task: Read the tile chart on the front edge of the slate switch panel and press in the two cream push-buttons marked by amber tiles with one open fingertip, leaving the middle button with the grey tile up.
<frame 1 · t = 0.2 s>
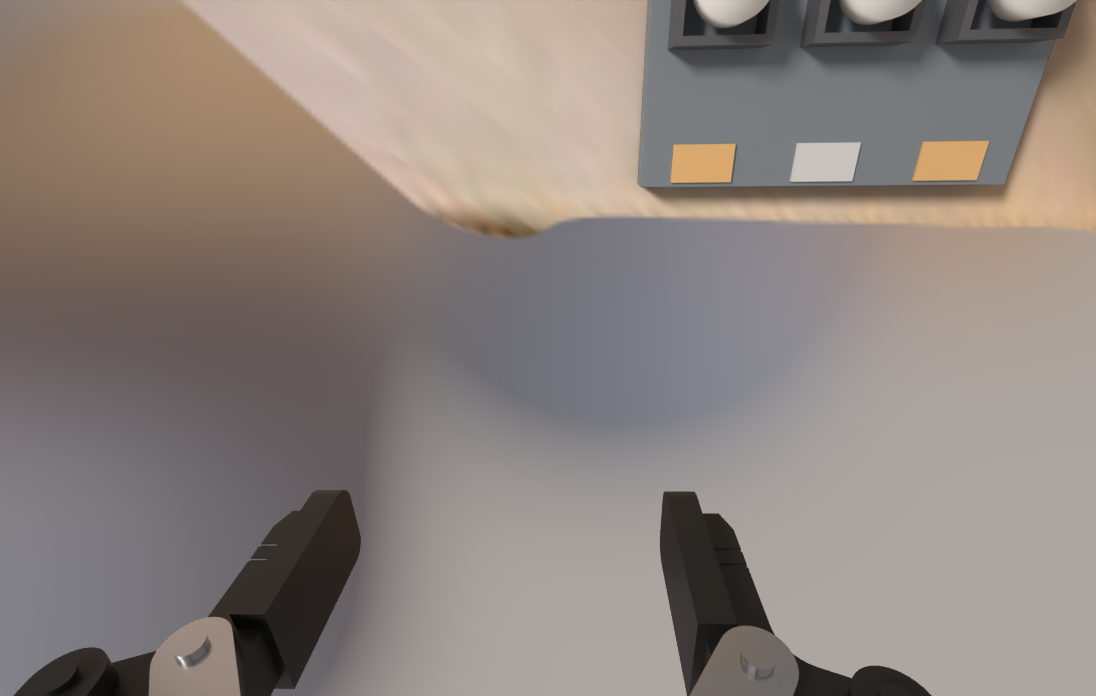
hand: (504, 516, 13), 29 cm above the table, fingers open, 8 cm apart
switch panel: (831, 52, 33), on the table
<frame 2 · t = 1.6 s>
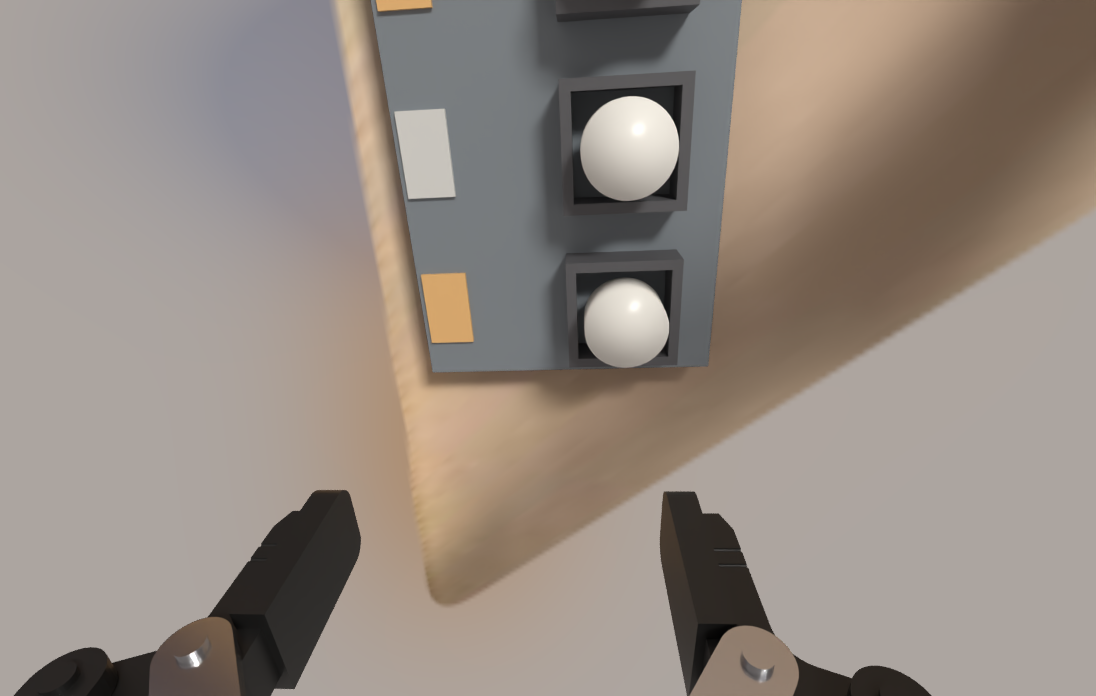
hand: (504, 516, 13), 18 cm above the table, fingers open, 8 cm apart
button c: (624, 322, 25), point 5 cm above the table, slide at 0.0 cm
button b: (627, 149, 22), point 5 cm above the table, slide at 0.0 cm
switch panel: (560, 145, 26), on the table
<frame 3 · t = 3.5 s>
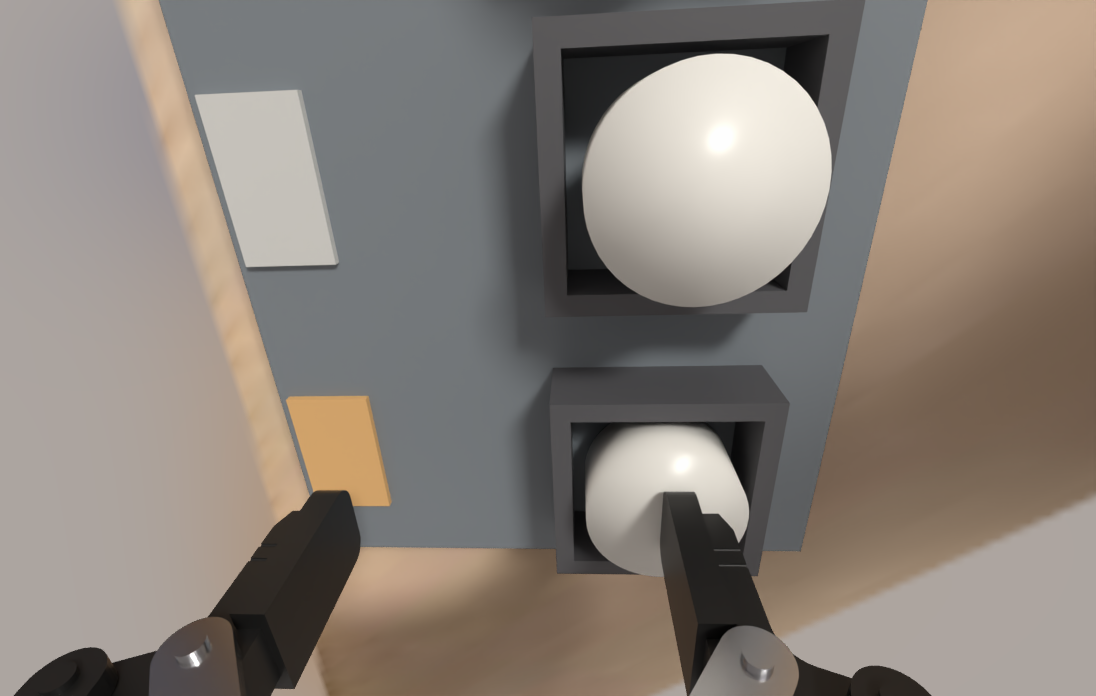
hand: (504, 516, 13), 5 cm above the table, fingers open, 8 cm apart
button c: (660, 492, 14), point 4 cm above the table, slide at 1.0 cm, touching gripper
button b: (691, 185, 9), point 5 cm above the table, slide at 0.0 cm
switch panel: (543, 165, 14), on the table
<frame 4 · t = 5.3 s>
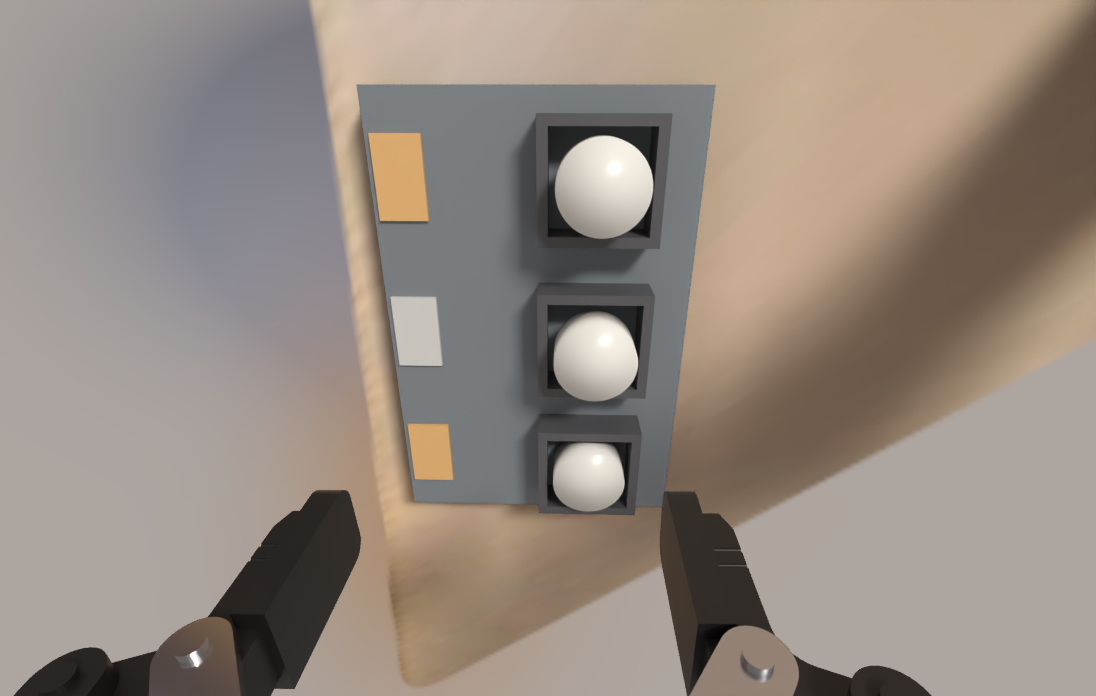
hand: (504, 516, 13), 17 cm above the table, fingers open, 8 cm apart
button a: (602, 186, 22), point 5 cm above the table, slide at 0.0 cm
button c: (587, 472, 29), point 4 cm above the table, slide at 1.1 cm
button b: (594, 355, 25), point 5 cm above the table, slide at 0.0 cm
switch panel: (538, 319, 29), on the table
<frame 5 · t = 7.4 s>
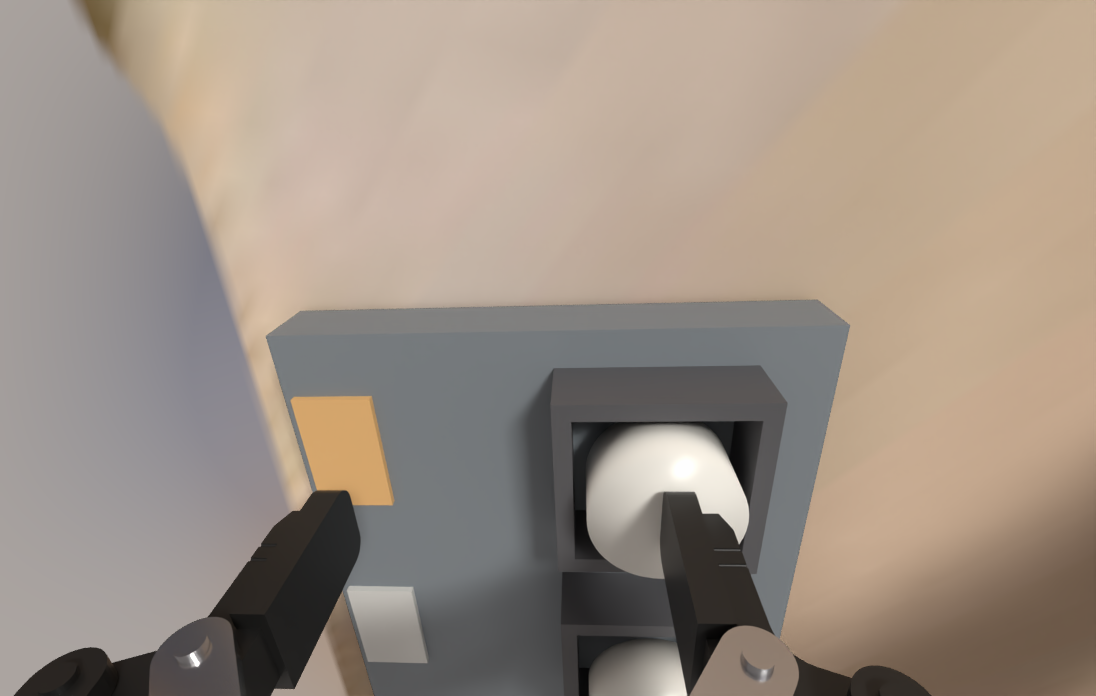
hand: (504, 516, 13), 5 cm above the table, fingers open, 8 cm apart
button a: (660, 494, 14), point 4 cm above the table, slide at 0.9 cm, touching gripper
switch panel: (562, 581, 21), on the table
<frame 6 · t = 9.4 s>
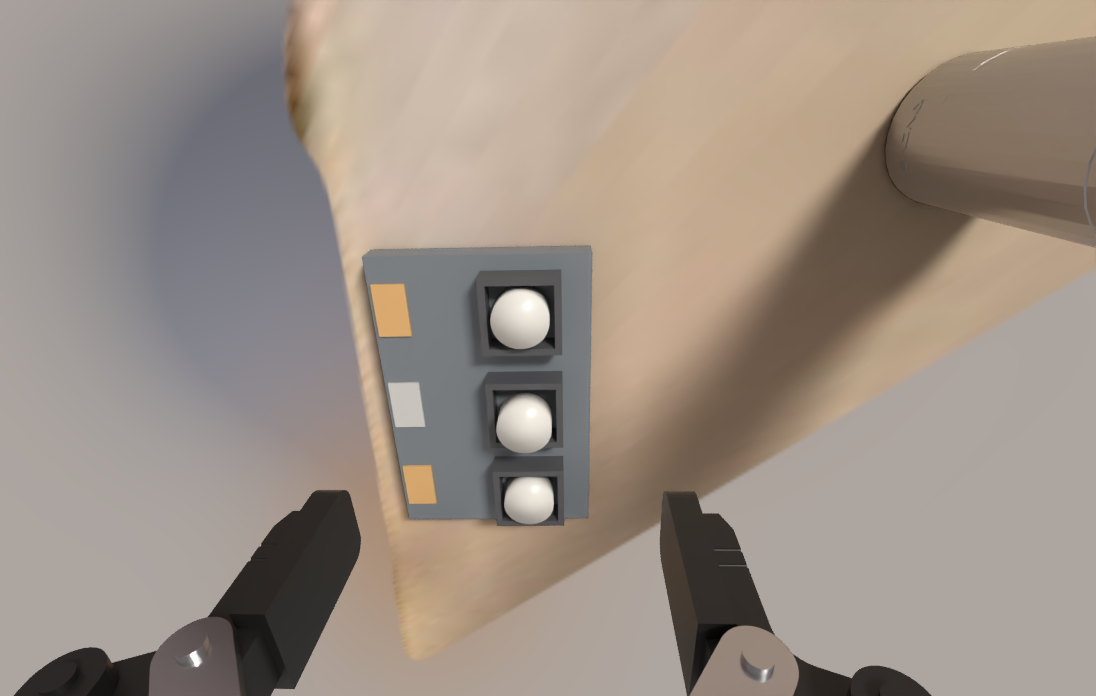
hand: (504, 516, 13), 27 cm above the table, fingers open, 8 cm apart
button a: (520, 316, 35), point 4 cm above the table, slide at 1.1 cm
button c: (529, 497, 42), point 4 cm above the table, slide at 1.1 cm
button b: (524, 422, 37), point 5 cm above the table, slide at 0.0 cm
switch panel: (491, 390, 42), on the table
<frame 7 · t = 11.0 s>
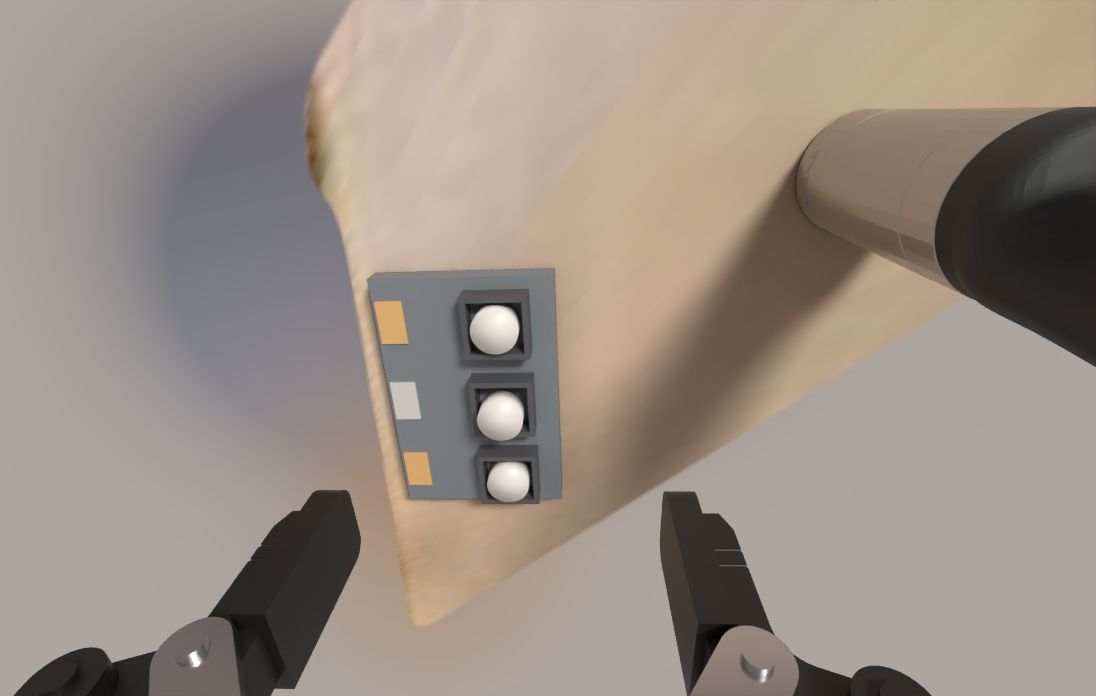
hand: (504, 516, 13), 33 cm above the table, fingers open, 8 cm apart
button a: (495, 328, 43), point 4 cm above the table, slide at 1.1 cm
button c: (509, 479, 49), point 4 cm above the table, slide at 1.1 cm
button b: (501, 415, 45), point 5 cm above the table, slide at 0.0 cm
switch panel: (477, 389, 50), on the table
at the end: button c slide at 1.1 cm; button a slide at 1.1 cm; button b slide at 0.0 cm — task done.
